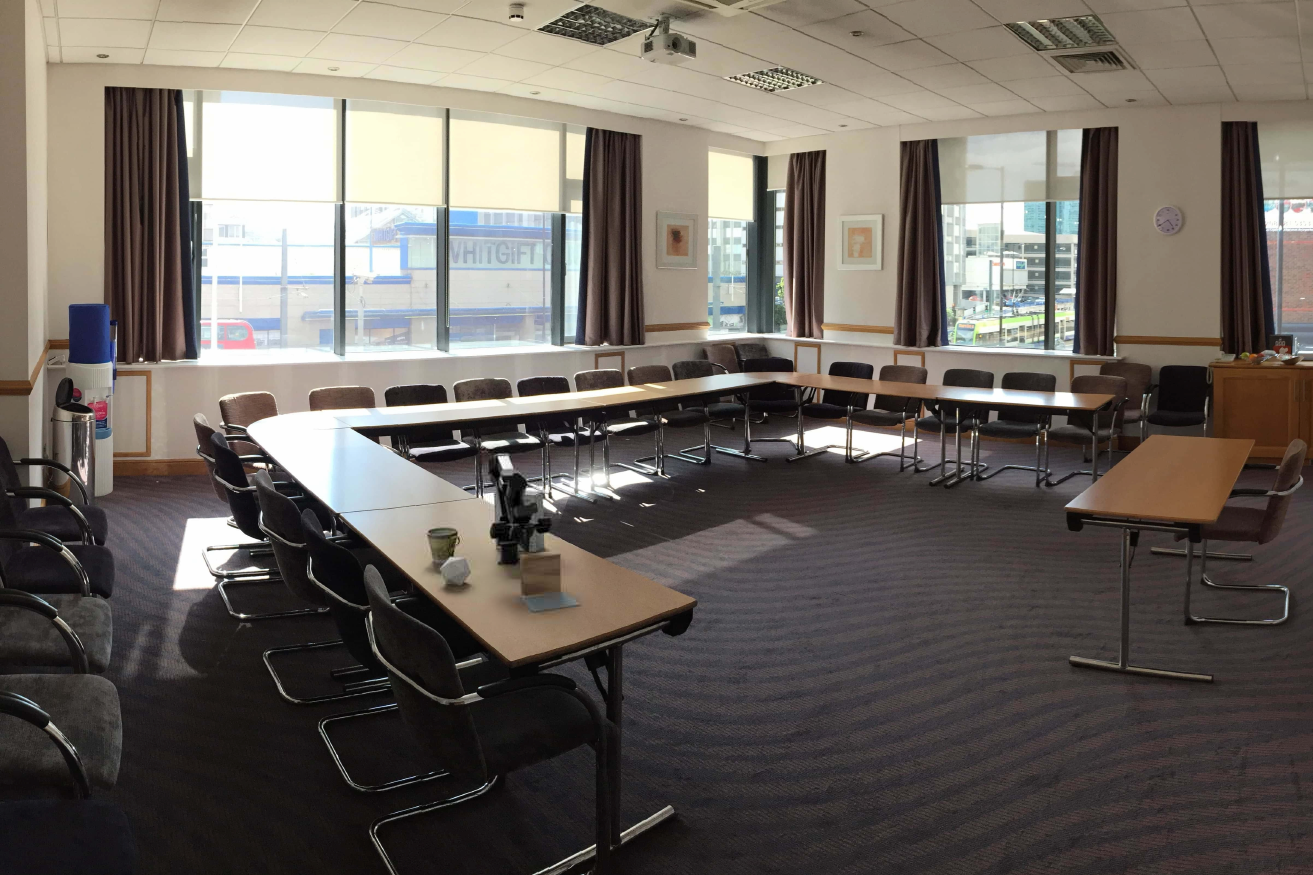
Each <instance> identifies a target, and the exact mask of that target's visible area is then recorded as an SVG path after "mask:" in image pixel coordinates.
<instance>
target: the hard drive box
mask: <svg viewBox="0 0 1313 875" xmlns="http://www.w3.org/2000/svg"><path fill="white" fill-rule="evenodd" d="M493 499H494V501H493V502H494V505H493V506H494V522H499V520H500V510H499V504H498V498H497V492H494V494H493ZM523 499H524V503H525V505H529V504H530V503H534V502H536V503H537V507H538V512H537V513H535V514H533V516H531V518H532V519H531V520H530V521H529V522H530V523H534V522H537V520H538V518H541V517H544V491H543V490H531V489H529V490H528V489H526V492H525V496H524V498H523ZM544 547H545V533H542V534H539V533H537V532H536V529H535V531H534V533H533V536H532V537H530V544H529V551H528V552H531V553H532V552H533V553H535V552H536V553H538V551H539V550H541V549H542V548H544ZM495 548H496V549H497V550H498V549H499V550H501V546H497V545H496V544H495ZM521 551H522V552H525V551H524V550H523V549H522V548H521V546H520V545H518V552H521Z"/></svg>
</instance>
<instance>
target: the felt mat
mask: <svg viewBox="0 0 1313 875" xmlns="http://www.w3.org/2000/svg"><path fill="white" fill-rule="evenodd" d="M519 599H520V600H521V601H522V602H523V603H524V605H525V606H526V607H527V608H528V609H529V610H530V611H531V612H532V613H537V612H544V611H550V610H551V611H552V610H558V609H565V608H573V607H578V606H579V607H580V606H581V604H580V603H579V602H578V601H577V600H576V599H575V598H574V597H572V596H571V595H570V594H569V593H568V592H567V591H564V592H563V591H561V593H554V594H547V595H540V596H533V597H526V598H524V597H520V598H519Z"/></svg>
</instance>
